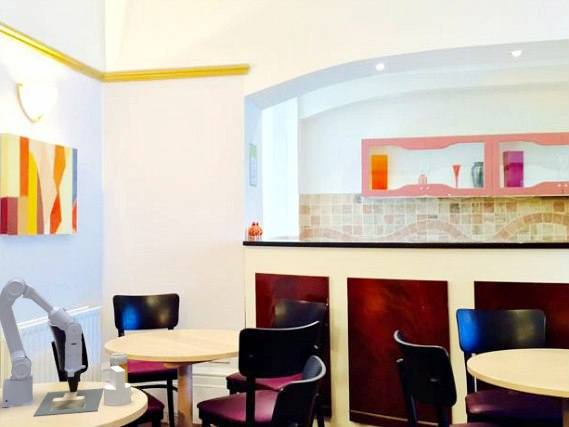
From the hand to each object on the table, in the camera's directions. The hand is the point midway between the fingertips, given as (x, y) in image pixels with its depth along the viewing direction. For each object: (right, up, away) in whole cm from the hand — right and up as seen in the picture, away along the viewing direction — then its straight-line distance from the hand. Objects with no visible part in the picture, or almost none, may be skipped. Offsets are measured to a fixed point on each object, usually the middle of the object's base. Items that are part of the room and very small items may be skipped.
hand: (73, 392), depth 209 cm
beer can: (+16, -2, +3) cm, 16 cm away
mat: (+1, -2, -6) cm, 6 cm away
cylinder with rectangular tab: (+18, -2, -8) cm, 20 cm away
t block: (+3, -1, -11) cm, 11 cm away
